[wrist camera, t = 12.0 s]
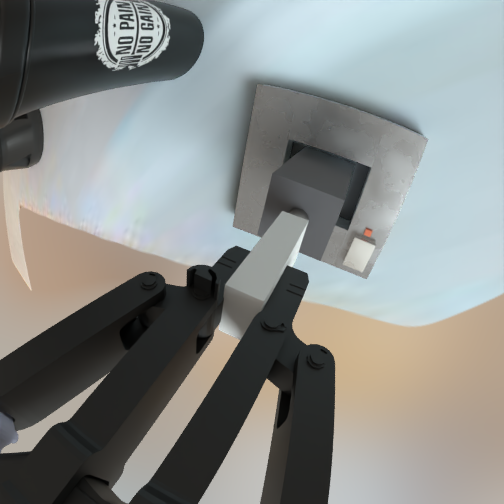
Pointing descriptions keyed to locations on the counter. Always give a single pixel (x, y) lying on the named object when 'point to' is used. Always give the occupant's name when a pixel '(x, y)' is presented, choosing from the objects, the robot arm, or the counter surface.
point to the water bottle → (89, 48)
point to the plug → (309, 196)
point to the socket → (340, 143)
